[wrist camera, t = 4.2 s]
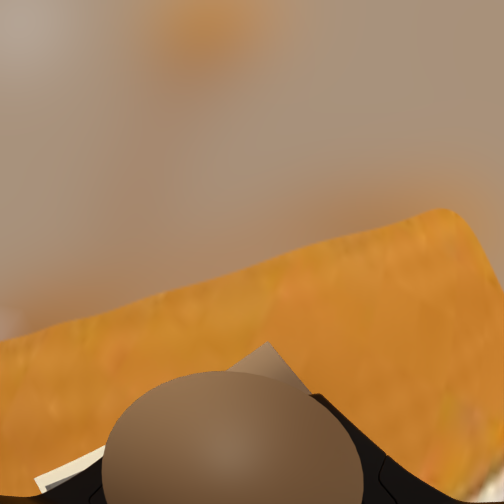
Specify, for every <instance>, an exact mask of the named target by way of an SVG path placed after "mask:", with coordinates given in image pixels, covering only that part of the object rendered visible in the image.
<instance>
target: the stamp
mask: <svg viewBox="0 0 504 504" xmlns="http://www.w3.org/2000/svg"><path fill="white" fill-rule="evenodd" d="M309 394H311V392H310V391H309V390H308V389H307V388H306V387H305V385H304V384H303V383H302V382H301V381H300V380H299V378H298V377H297V376H296V375H295V374H294V372H293V371H292V370H291V369H290V368H289V366H288V365H287V364H286V363H285V362H284V360H283V359H282V358H281V357H280V356H279V354H278V353H277V352H276V351H275V349H274V348H273V347H272V346H271V345H270V343H269V342H268V341H267V342H266V343H265V344H263V345H262V346H260V347H259V348H258V349H256V350H255V351H253V352H252V353H251V354H249V355H248V356H246V357H245V358H244V359H242V360H241V361H239V362H238V363H236V364H235V365H234V366H232V367H231V368H229V369H228V370H226V371H212V372H204V373H196V374H191V375H187V376H183V377H179V378H176V379H174V380H171V381H168V382H166V383H163V384H161V385H159V386H157V387H155V388H154V389H152V390H150V391H148V392H147V393H145V394H144V395H143V396H141V397H140V398H138V399H137V400H136V401H135V402H134V403H133V404H132V405H131V406H129V407H128V408H127V409H126V410H125V412H124V413H123V414H122V415H121V417H120V418H119V419H118V420H117V422H116V424H115V426H114V427H113V429H112V431H111V433H110V435H109V438H108V440H107V443H106V445H105V450H104V454H103V459H102V483H103V489H104V494H105V498H106V501H107V504H361V503H362V496H363V471H362V466H361V461H360V458H359V455H358V452H357V450H356V447H355V445H354V443H353V441H352V439H351V438H350V436H349V434H348V432H347V431H346V430H345V428H344V427H343V426H342V424H341V423H340V422H339V420H338V419H337V418H336V417H335V416H334V415H333V414H332V413H331V412H330V411H329V410H328V409H327V408H326V407H324V406H323V405H322V404H320V403H319V402H318V401H316V400H315V399H314V398H312V397H311V396H309Z"/></svg>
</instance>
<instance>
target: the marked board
mask: <svg viewBox="0 0 504 504" xmlns="http://www.w3.org/2000/svg"><path fill="white" fill-rule="evenodd" d="M104 450H105V446H103V447H101V448H99V449H97V450H95V451H93V452H91V453H89V454H87V455H85V456H83V457H81V458H79V459H76V460H74V461H72V462H70V463H68V464H66V465H64V466H61V467H59V468H57V469H55V470H52V471H50V472H48V473H46V474H43V475H41V476H38V477H36V478H34V479H35V481H36V483H37V485H38V487H39V489H40V491H41V492H42V493H44V492H46V491H48V490H50V489H52V488H54V487H56V486H58V485H59V484H61V483H63V482H65V481H67V480H68V479H70V478H72V477H74V476H75V475H77V474H78V473H80V472H82V471H83V470H85V469H86V468H88V467H89V466H90V465H92V464H93V463H95V462H96V461H97V460H98V459H100V458H101V457H102V456H103V454H104Z"/></svg>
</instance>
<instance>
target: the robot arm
mask: <svg viewBox="0 0 504 504" xmlns="http://www.w3.org/2000/svg"><path fill="white" fill-rule="evenodd" d="M309 396H311V397H312V398H314V399H315V400H316V401H318V402H319V403H320V404H322V405H323V406H324V407H326V408H327V409H328V410H329V411H330V412H331V413H332V414H333V415H334V416H335V417H336V418H337V419H338V420H339V422H340V423H341V424H342V426H343V427H344V428H345V430H346V431H347V432H348V434H349V436H350V438H351V439H352V441H353V443H354V445H355V447H356V450H357V452H358V455H359V458H360V461H361V466H362V471H363V496H362V503H361V504H504V502H483V503H470V502H463V501H459V500H456V499H453V498H451V497H449V496H447V495H446V494H444V493H442V492H440V491H439V490H437V489H435V488H433V487H432V486H430V485H428V484H427V483H425V482H423V481H422V480H420V479H419V478H417V477H416V476H414V475H413V474H411V473H410V472H408V471H407V470H406V469H404V468H403V467H402V466H400V465H399V464H398V463H397V462H395V461H394V460H393V459H392V458H391V457H390V456H388V455H387V456H386V453H385V452H384V451H383V450H381V449H380V448H379V447H378V446H377V445H376V444H375V443H374V442H372V441H371V440H370V439H369V438H368V437H367V436H366V435H365V434H363V433H362V432H361V431H360V430H359V429H358V428H357V427H356V426H355V425H354V424H353V423H351V422H350V421H349V420H348V419H347V418H346V417H345V416H344V415H343V414H342V413H341V412H340V411H339V410H337V409H336V408H335V407H334V406H333V405H332V404H331V403H330V402H329V401H328V400H327V399H326V398H325V397H324V396H323V395H322V394H319V393H318V394H309ZM102 459H103V456H102V457H101V458H100V459H98V460H97V461H96V462H95V463H93V464H92V465H90V466H89V467H88V468H86V469H85V470H83V471H82V472H80V473H78V474H77V475H75V476H74V477H72V478H70V479H68V480H67V481H65V482H63V483H61V484H59V485H58V486H56V487H54V488H52V489H50V490H48V491H46V492H44V493H42V494H40V495H37V496H32V497H14V496H3V495H0V504H107V501H106V498H105V494H104V489H103V483H102Z"/></svg>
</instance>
